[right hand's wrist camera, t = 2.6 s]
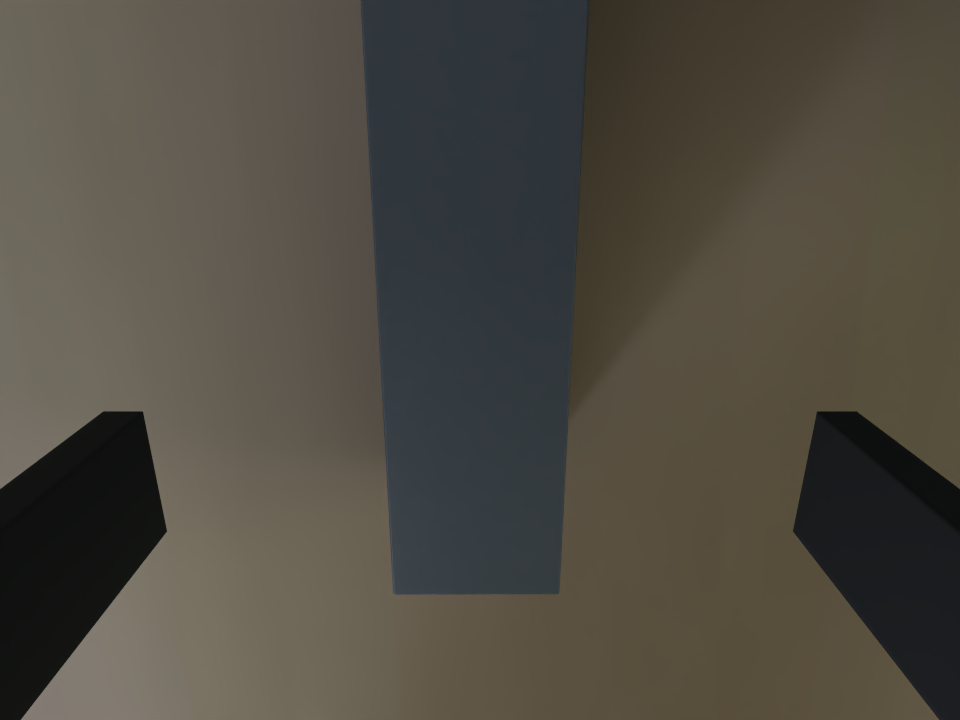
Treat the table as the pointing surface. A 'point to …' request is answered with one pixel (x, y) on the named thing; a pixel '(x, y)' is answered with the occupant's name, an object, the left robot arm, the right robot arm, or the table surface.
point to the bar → (475, 281)
